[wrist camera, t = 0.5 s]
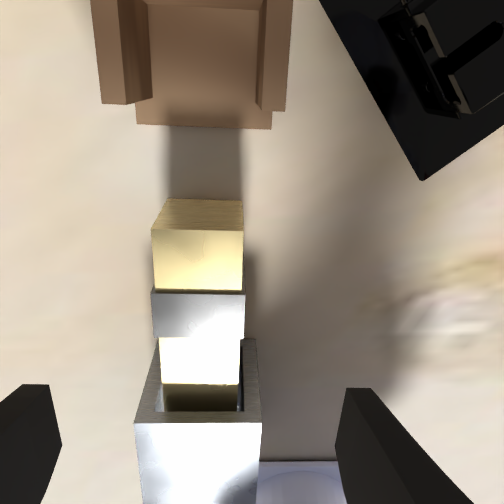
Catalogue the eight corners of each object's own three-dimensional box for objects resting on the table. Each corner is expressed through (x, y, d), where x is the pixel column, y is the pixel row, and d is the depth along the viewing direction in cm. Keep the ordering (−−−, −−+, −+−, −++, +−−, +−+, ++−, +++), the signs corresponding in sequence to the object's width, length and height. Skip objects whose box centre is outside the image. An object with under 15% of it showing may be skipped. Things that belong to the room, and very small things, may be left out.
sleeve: (250, 425, 23) (254, 520, 18) (164, 425, 23) (145, 522, 18) (255, 339, 21) (261, 423, 16) (158, 338, 20) (133, 423, 15)
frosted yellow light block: (236, 427, 23) (237, 493, 19) (177, 427, 22) (166, 493, 19) (245, 199, 17) (248, 232, 13) (164, 197, 16) (145, 230, 13)
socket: (270, 127, 16) (285, 150, 11) (140, 122, 16) (96, 143, 11) (277, -5, 14) (301, -50, 9) (129, -14, 14) (69, -66, 9)
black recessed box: (265, -42, 14) (278, -93, 10) (444, -205, 12) (549, -346, 8) (415, 211, 18) (468, 249, 14) (561, 115, 17) (668, 127, 13)
